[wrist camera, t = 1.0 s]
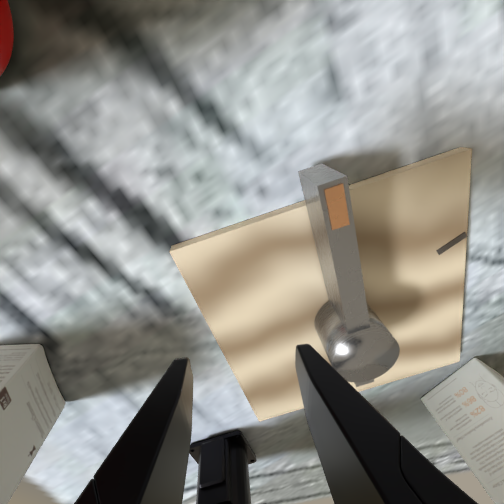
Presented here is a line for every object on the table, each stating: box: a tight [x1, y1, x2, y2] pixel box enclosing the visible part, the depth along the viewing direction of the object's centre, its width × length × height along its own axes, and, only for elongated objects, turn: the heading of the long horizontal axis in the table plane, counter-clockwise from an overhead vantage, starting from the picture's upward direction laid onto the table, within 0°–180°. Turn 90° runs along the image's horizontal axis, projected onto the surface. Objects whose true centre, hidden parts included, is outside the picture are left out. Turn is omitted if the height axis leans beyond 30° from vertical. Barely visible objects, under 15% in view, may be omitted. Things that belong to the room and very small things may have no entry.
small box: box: [421, 358, 504, 504], centre depth 28 cm, size 8×6×10 cm
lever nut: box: [298, 164, 400, 387], centre depth 20 cm, size 18×5×4 cm, turn 18°
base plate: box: [170, 147, 472, 422], centre depth 25 cm, size 22×22×1 cm
